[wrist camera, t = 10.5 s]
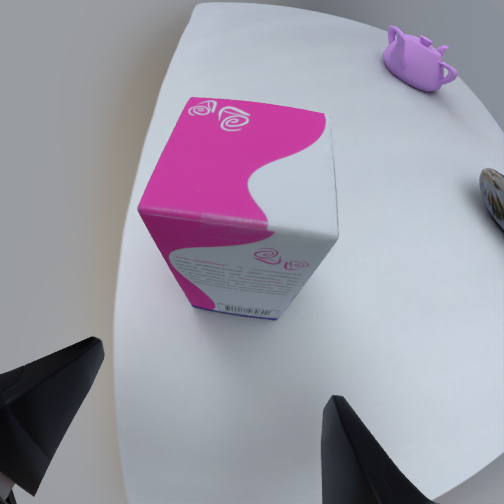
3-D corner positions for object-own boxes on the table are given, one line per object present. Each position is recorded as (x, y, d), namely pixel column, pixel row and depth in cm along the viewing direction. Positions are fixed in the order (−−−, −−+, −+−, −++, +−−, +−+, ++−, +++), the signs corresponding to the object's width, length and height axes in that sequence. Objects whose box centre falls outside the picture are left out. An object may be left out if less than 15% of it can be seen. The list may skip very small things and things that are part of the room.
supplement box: (286, 239, 20) (336, 111, 9) (277, 321, 17) (345, 251, 7) (206, 227, 20) (188, 91, 9) (188, 307, 17) (128, 218, 7)
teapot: (432, 77, 36) (448, 45, 28) (443, 110, 31) (467, 71, 23) (379, 50, 37) (392, 15, 29) (379, 76, 32) (397, 31, 24)
